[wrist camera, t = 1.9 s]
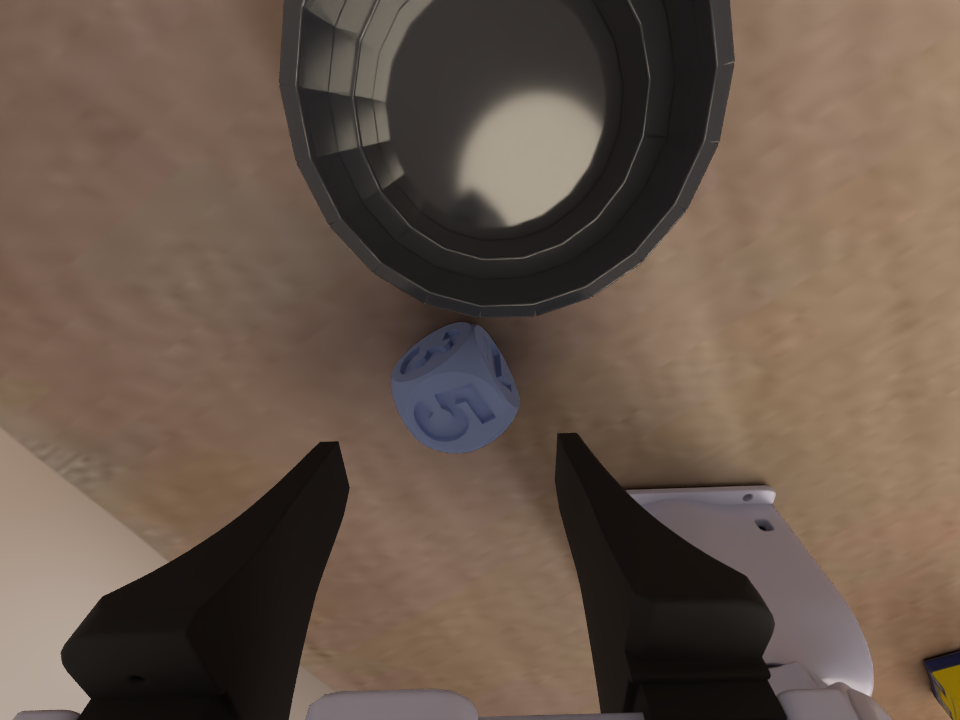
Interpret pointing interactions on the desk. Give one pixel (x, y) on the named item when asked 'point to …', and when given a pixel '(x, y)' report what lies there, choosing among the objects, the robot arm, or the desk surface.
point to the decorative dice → (455, 389)
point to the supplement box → (946, 682)
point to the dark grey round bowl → (504, 137)
